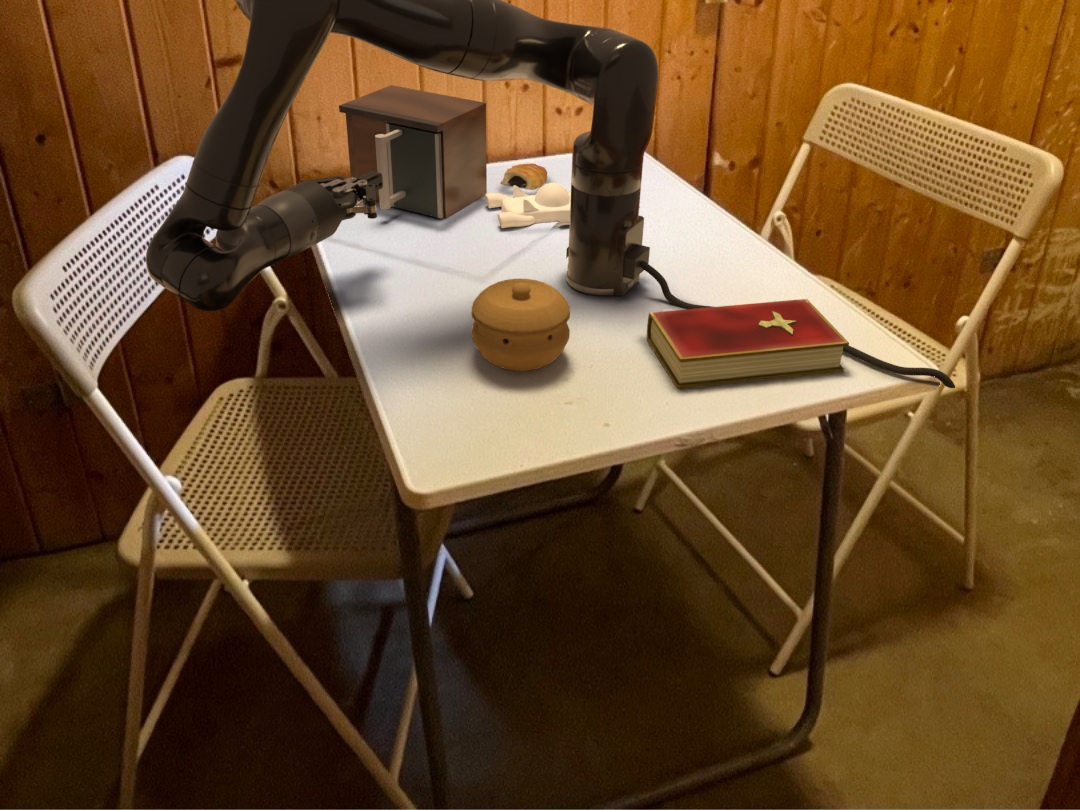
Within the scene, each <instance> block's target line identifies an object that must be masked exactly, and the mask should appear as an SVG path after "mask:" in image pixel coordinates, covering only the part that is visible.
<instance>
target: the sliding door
mask: <svg viewBox="0 0 1080 810" xmlns="http://www.w3.org/2000/svg"><path fill="white" fill-rule="evenodd" d="M386 133H387V134H385V135H384V134H378V135H375V143H376V157H377V172H378V173H381V174H382V177H383V188H382V189H380V190H379V200H380V202H379V208H380V209H381V210H390V209H391V207H393V208H396V209H400V210H401V209H402V210H405V211H409V212H413V213H418V214H421V215H426V216H430V217H433V218H437V219H444V218H443V194H442V164H441V134H440V133H436V132H432V131H427V130H422V129H417V128H412V127H407V126H403V125H398V124H393V123H386ZM387 149H388V157H387ZM388 165H389V173H388ZM389 181H390V188H389Z"/></svg>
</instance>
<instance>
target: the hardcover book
mask: <svg viewBox="0 0 1080 810" xmlns="http://www.w3.org/2000/svg"><path fill="white" fill-rule="evenodd" d="M646 342H647V343H648V344H649V346H650V347H651V349H652V351H653V352H654V354H655V356H656V357H657V359H658V361H659V362H660V363H661V365H662V367H663V368H664V370H665V372H666V373H667V375H668V376H669V378H670V379H671V381H672V383H673V384H674V386H675V388H676V389H677V390H679V389H687V388H688V389H689V388H698V387H707V386H717V385H725V384H727V385H728V384H737V383H744V382H754V381H755V382H756V381H764V380H773V379H783V378H792V377H801V376H802V377H803V376H811V375H821V374H823V375H824V374H830V373H831V374H832V373H842V372H844V369H845V368H844V367H843V365H842V364H841V361H842V357H843V353H844V352H843V347H844V346H850V342H849V341H848V340H847V339H846V338H845V337H844V336H843V335H842V334H841V332H840V331H839V330H838V329H837V328H835V326H834V325H833V324H832V323H831V322H830V321H829V320H828V319H827V318H826V317H825V316H824V314H822V312H820V311H819V310H818V308H816V307H815V306H814V304H812V302H811V301H810V300H809V299H808V298H802V299H801V298H800V299H789V300H780V301H779V300H778V301H767V302H756V303H743V304H742V303H741V304H733V305H731V304H730V305H721V306H720V305H719V306H712V307H708V308H697V309H677V310H665V311H663V310H662V311H653V312H652V311H651V312H648V316H647V324H646Z"/></svg>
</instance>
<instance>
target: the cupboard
mask: <svg viewBox="0 0 1080 810" xmlns="http://www.w3.org/2000/svg"><path fill="white" fill-rule="evenodd" d="M338 112H339V113H342V114H345V125H346V137H347V146H348V147H347V149H348V160H349V171H350V177H355V178H358V177H360V176H362V175H364V174H367V173H369V172H371V171H374V172H377V157H376V143H375V135H378V134H384V135H385V134H387V133H386V123H393V124H398V125H403V126H407V127H412V128H417V129H422V130H427V131H432V132H436V133H440V134H441V164H442V194H443V218H442V219H445V220H446V219H448V218H451V216H453V215H455V214H457V213H458V212H460V211H462V210H463V209H465V208H466V207H468V206H470V205H472V204H473V203H475V202H476V201H479V200H480V199H482V198H483V197H485V194H487V193H488V183H487V180H488V179H487V177H488V176H487V172H488V171H487V167H488V166H487V102H482V101H478V100H472V99H467V98H461V97H458V96H457V97H456V96H451V95H446V94H441V93H440V94H439V93H436V92H430V91H426V90H420V89H414V88H409V87H404V86H398V85H393V84H390V85H388V86H385V87H383V88H380V89H377V90H374V91H372V92H370V93H368V94H365V95H363V96H359V97H357V98H354V99H352V100H350V101H347V102H344V103H342V104H340V105H338ZM387 157H388V149H387ZM388 173H389V165H388ZM389 188H390V181H389ZM376 203H380V200H379V190H378V191H376Z"/></svg>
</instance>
